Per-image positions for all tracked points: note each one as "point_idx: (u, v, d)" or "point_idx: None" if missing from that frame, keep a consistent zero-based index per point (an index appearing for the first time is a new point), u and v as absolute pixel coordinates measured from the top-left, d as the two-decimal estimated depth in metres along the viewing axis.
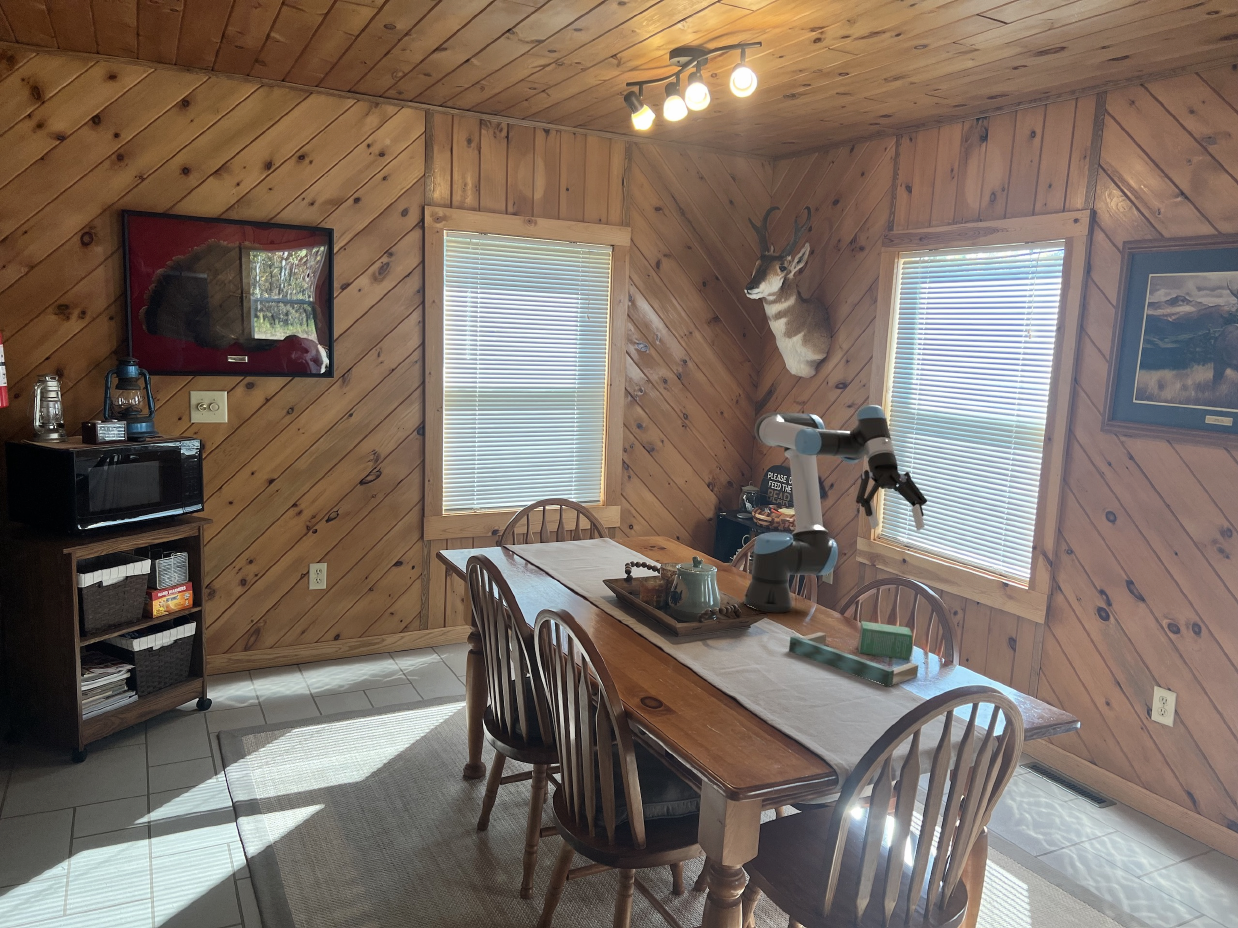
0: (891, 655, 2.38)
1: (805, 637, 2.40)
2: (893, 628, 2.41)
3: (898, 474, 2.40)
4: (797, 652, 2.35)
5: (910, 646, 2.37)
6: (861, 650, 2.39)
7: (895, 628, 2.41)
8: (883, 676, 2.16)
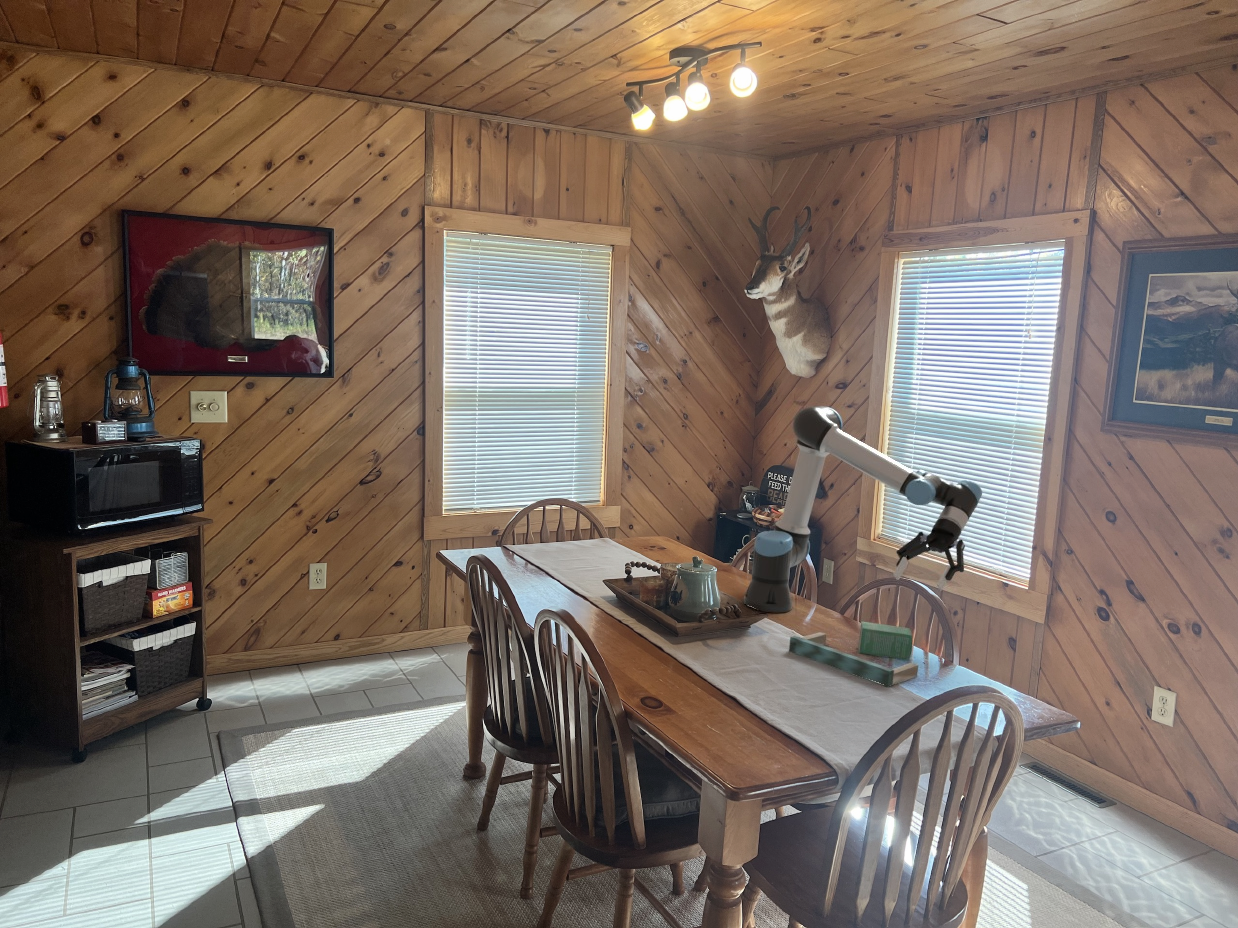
0: (891, 655, 2.38)
1: (805, 637, 2.40)
2: (893, 628, 2.40)
3: None
4: (797, 652, 2.35)
5: (910, 646, 2.36)
6: (860, 650, 2.39)
7: (895, 628, 2.41)
8: (883, 676, 2.16)
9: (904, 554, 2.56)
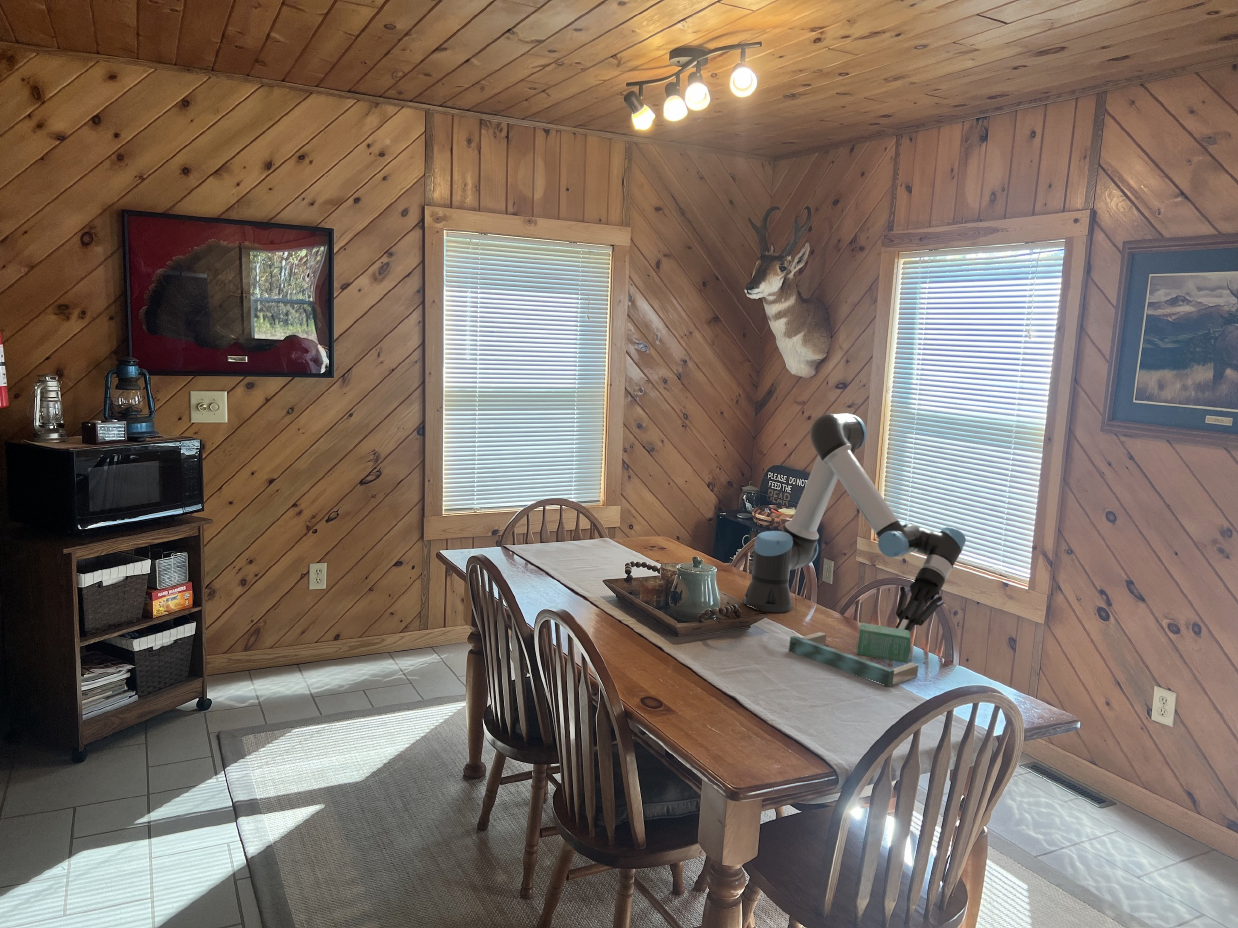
0: (888, 657, 2.36)
1: (805, 637, 2.40)
2: (892, 630, 2.39)
3: None
4: (797, 652, 2.35)
5: (908, 649, 2.35)
6: (858, 651, 2.38)
7: (894, 630, 2.39)
8: (883, 676, 2.16)
9: (904, 615, 2.46)
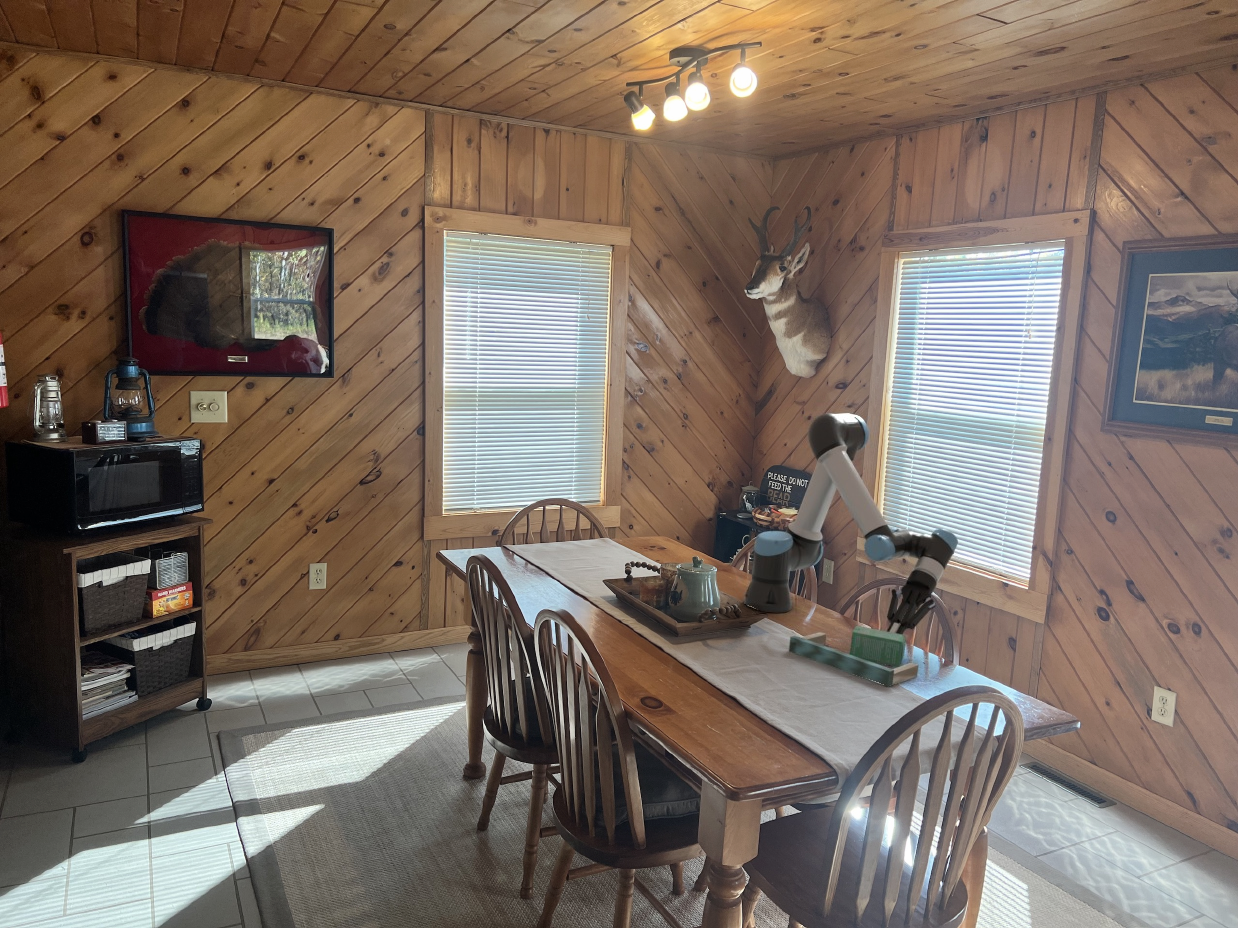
0: (881, 661, 2.32)
1: (805, 637, 2.40)
2: (886, 634, 2.35)
3: None
4: (797, 652, 2.35)
5: (900, 653, 2.30)
6: (850, 654, 2.35)
7: (888, 634, 2.35)
8: (883, 676, 2.16)
9: (895, 619, 2.42)
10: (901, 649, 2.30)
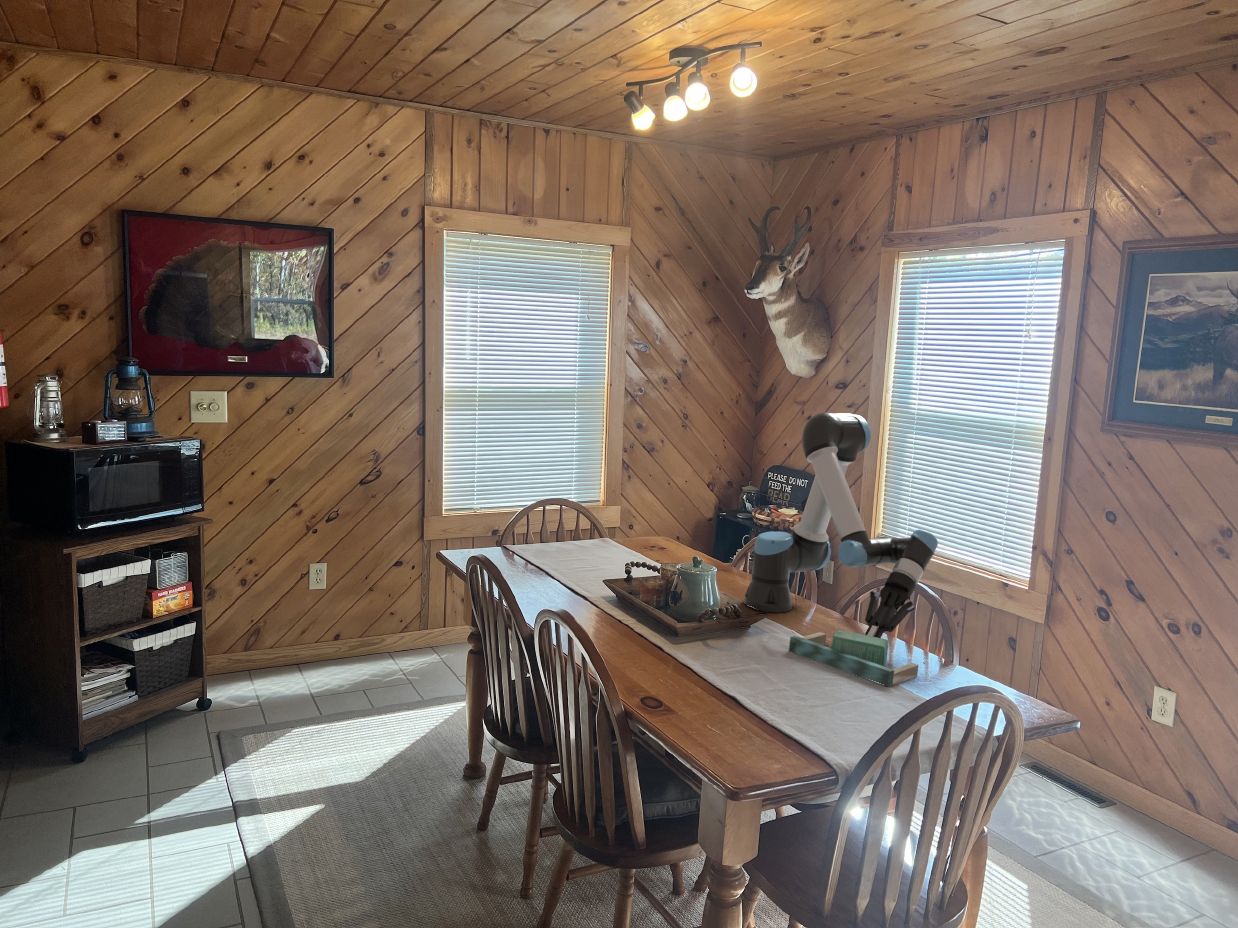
0: None
1: (805, 637, 2.40)
2: (868, 638, 2.29)
3: None
4: (797, 652, 2.35)
5: (882, 658, 2.25)
6: None
7: (870, 639, 2.29)
8: (883, 676, 2.16)
9: (873, 621, 2.37)
10: (882, 654, 2.24)
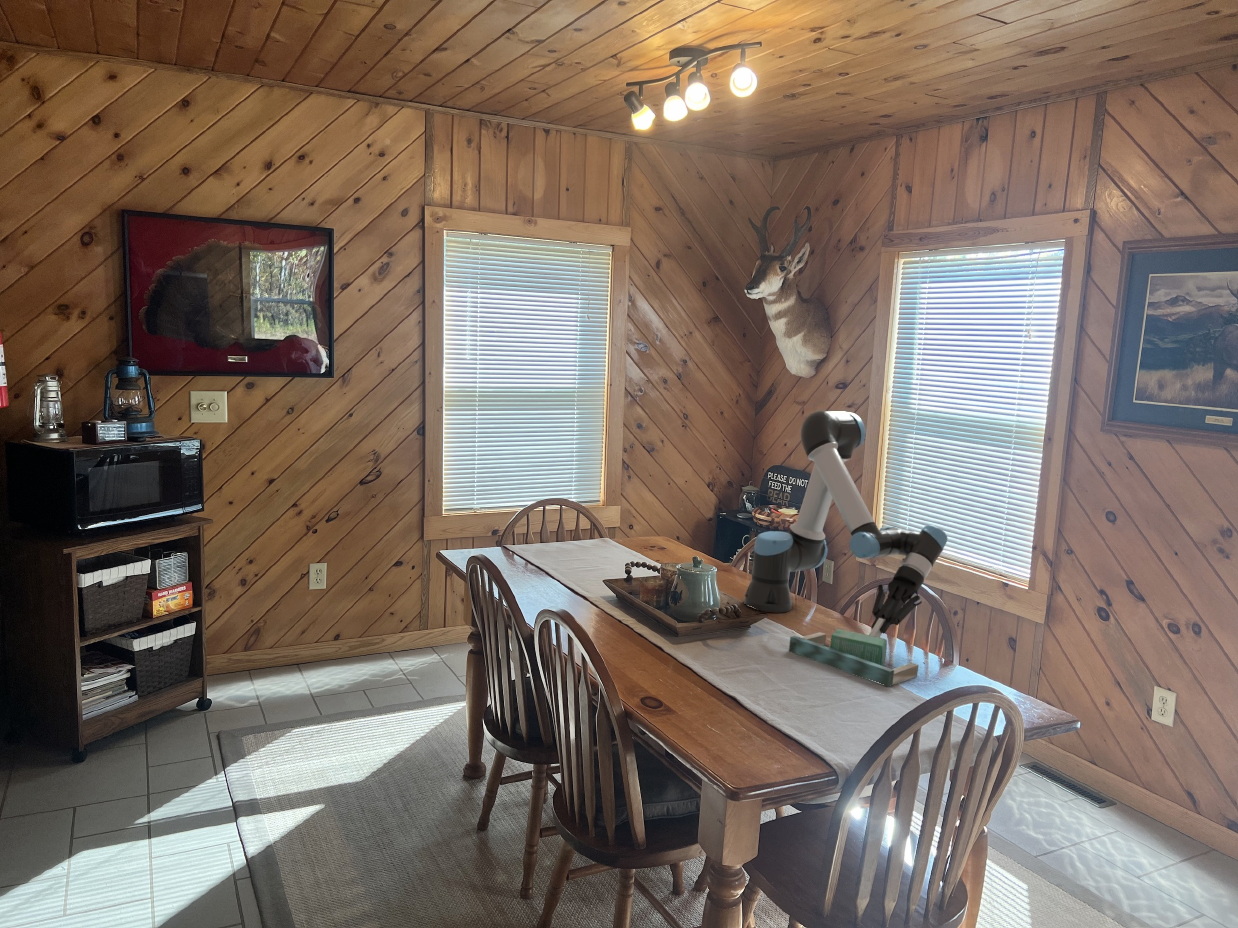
0: None
1: (805, 637, 2.40)
2: (866, 638, 2.30)
3: None
4: (797, 652, 2.35)
5: (880, 657, 2.26)
6: None
7: (868, 638, 2.30)
8: (883, 676, 2.16)
9: (880, 614, 2.40)
10: (880, 653, 2.25)
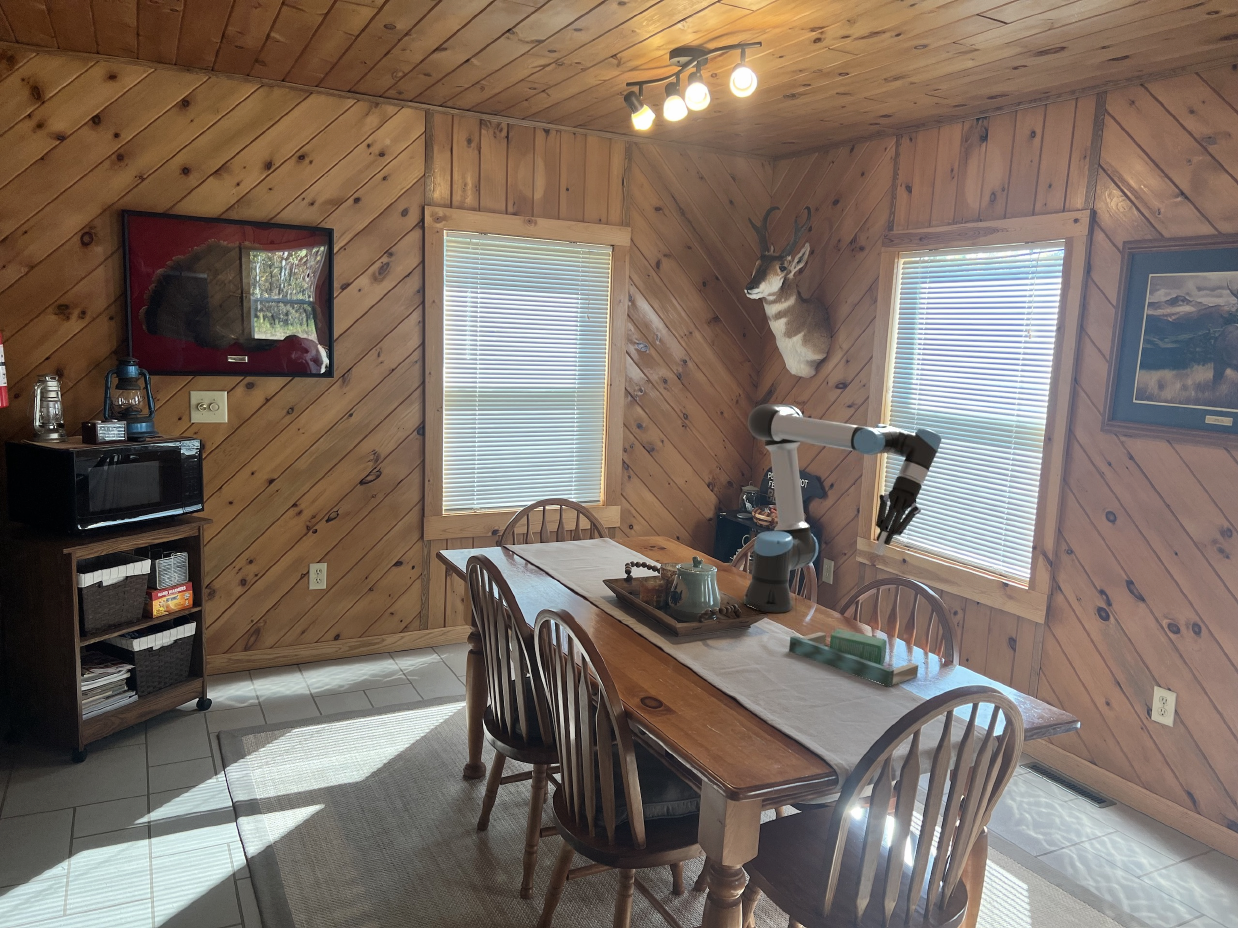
0: None
1: (805, 637, 2.40)
2: (866, 638, 2.30)
3: None
4: (797, 652, 2.35)
5: (879, 658, 2.25)
6: None
7: (868, 638, 2.30)
8: (883, 676, 2.16)
9: (883, 527, 2.57)
10: (879, 653, 2.25)
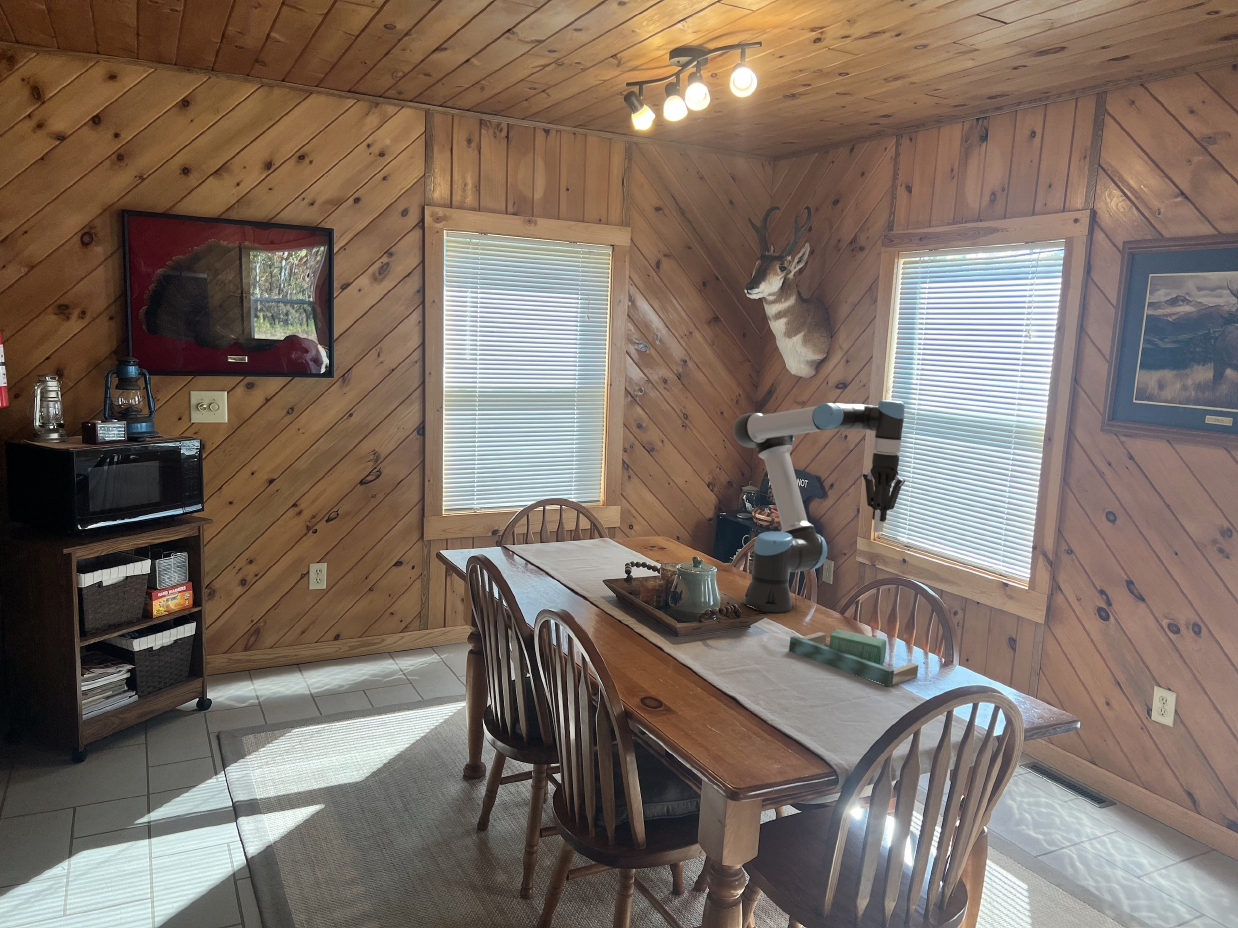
0: None
1: (805, 637, 2.40)
2: (865, 638, 2.30)
3: None
4: (797, 652, 2.35)
5: (878, 658, 2.25)
6: None
7: (868, 638, 2.30)
8: (883, 676, 2.16)
9: (875, 506, 2.60)
10: (879, 654, 2.25)
